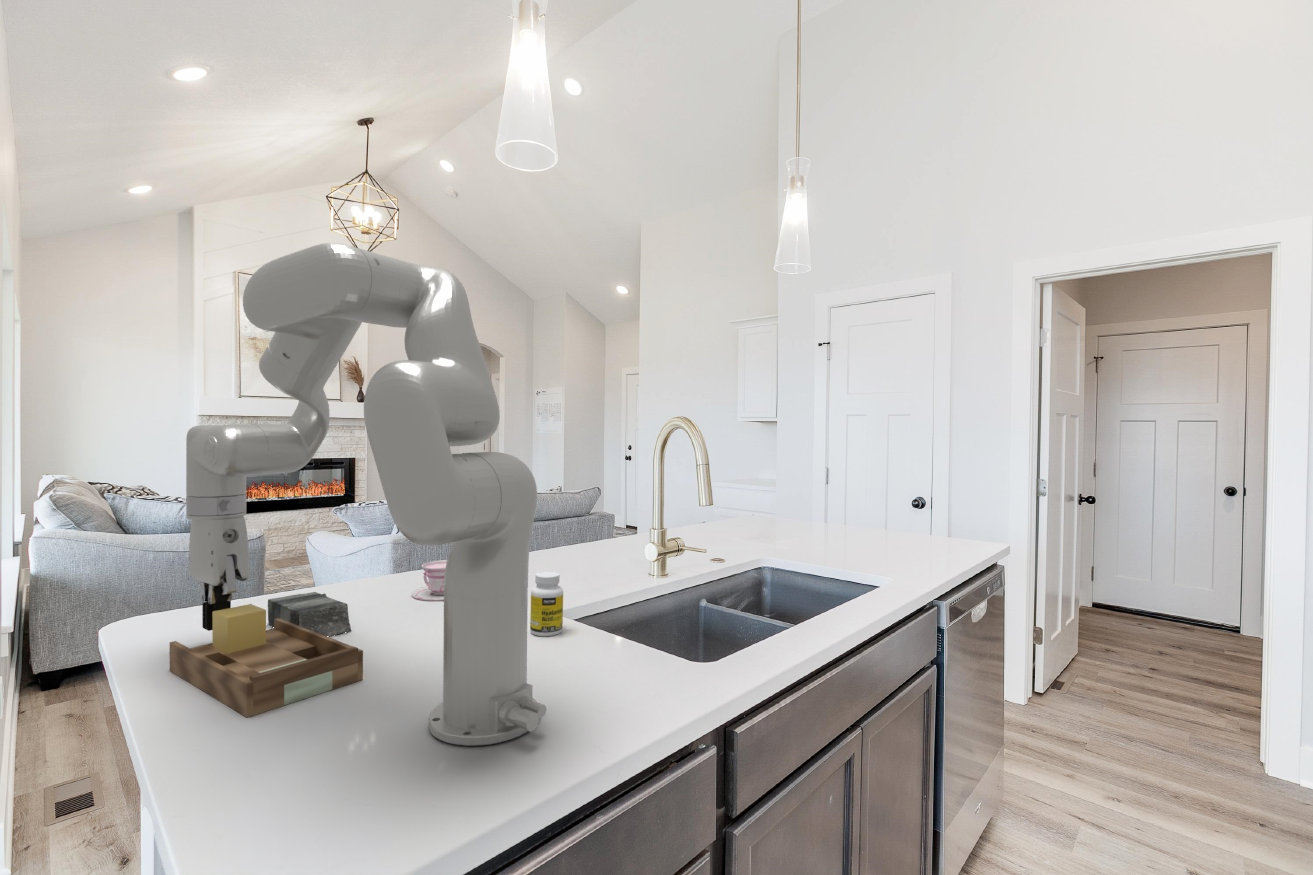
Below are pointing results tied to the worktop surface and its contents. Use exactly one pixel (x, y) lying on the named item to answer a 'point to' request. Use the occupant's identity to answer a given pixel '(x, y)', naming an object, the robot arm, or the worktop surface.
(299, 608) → the stone block
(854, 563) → the worktop surface
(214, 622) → the block
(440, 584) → the teacup
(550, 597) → the supplement bottle
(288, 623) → the box
